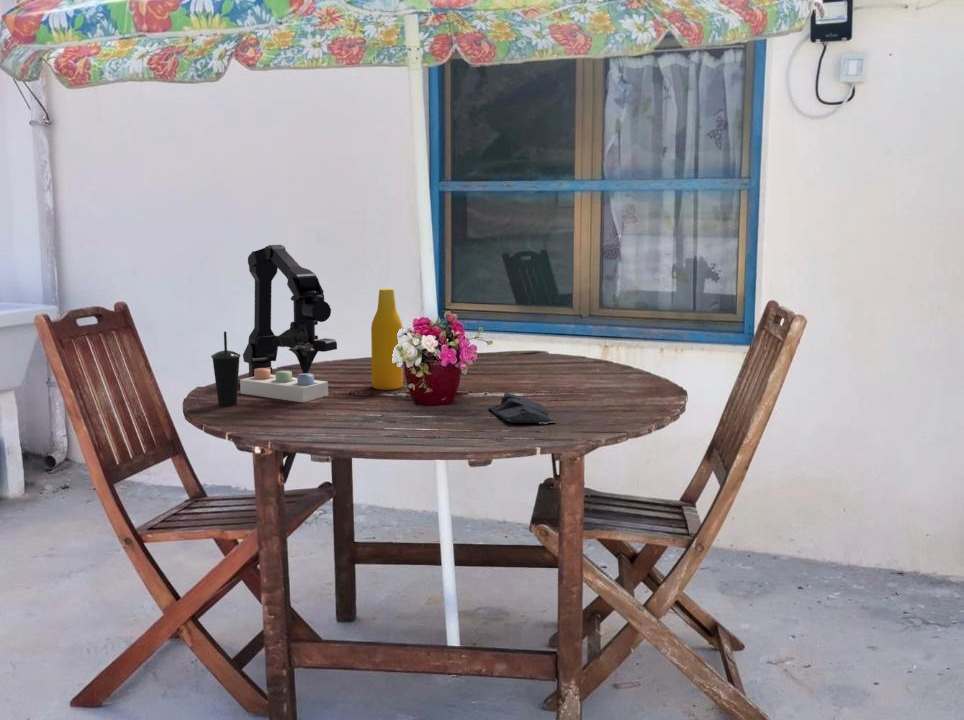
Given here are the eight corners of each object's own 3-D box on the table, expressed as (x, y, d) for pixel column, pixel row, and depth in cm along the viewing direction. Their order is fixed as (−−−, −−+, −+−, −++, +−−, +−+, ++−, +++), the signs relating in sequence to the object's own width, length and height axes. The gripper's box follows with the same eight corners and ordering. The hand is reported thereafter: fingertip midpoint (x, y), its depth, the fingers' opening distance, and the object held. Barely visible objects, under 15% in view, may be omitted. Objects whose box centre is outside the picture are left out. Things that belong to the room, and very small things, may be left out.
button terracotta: (251, 386, 308) (250, 369, 307) (262, 384, 312) (261, 367, 311) (263, 388, 305) (262, 371, 305) (274, 386, 309) (273, 368, 308)
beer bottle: (365, 386, 317) (364, 288, 312) (390, 382, 323) (389, 287, 318) (384, 391, 310) (383, 291, 306) (409, 387, 316) (408, 289, 312)
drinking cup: (216, 401, 294) (214, 329, 291) (244, 401, 295) (242, 329, 291) (210, 407, 287) (207, 333, 284) (238, 407, 287) (236, 333, 284)
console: (240, 393, 306) (240, 379, 305) (266, 387, 315) (266, 373, 315) (302, 402, 294) (302, 388, 294) (328, 395, 304) (328, 381, 303)
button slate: (294, 392, 300) (293, 375, 299) (304, 390, 304) (304, 372, 303) (306, 394, 297) (306, 376, 297) (317, 391, 301) (317, 374, 300)
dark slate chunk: (499, 428, 268) (499, 409, 267) (486, 409, 289) (487, 392, 288) (559, 426, 270) (560, 408, 269) (542, 408, 291) (542, 391, 290)
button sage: (272, 389, 304) (272, 372, 303) (283, 387, 308) (282, 370, 307) (284, 391, 301) (284, 374, 301) (295, 388, 305) (295, 371, 304)
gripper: (258, 318, 295) (260, 374, 298) (311, 323, 285) (312, 381, 288) (285, 314, 304) (287, 368, 307) (337, 319, 295) (338, 374, 298)
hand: (305, 373), depth 300 cm, fingers closed
